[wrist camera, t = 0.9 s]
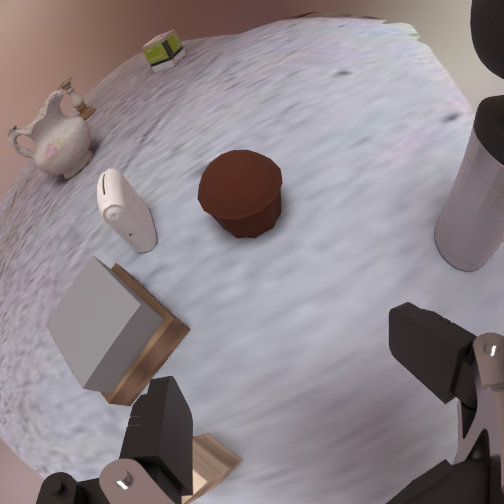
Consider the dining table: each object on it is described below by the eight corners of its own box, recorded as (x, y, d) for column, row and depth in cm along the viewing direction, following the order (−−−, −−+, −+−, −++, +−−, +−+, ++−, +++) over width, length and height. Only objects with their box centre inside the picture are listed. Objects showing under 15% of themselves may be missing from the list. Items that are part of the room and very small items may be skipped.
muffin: (204, 207, 44) (177, 162, 35) (264, 174, 44) (249, 125, 36) (234, 262, 37) (206, 218, 29) (305, 221, 38) (296, 168, 29)
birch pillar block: (209, 433, 27) (164, 441, 18) (242, 460, 24) (207, 481, 16) (185, 459, 25) (135, 472, 17) (216, 486, 23) (174, 511, 15)
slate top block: (115, 272, 36) (92, 255, 32) (165, 319, 30) (140, 304, 26) (70, 335, 33) (46, 324, 29) (111, 393, 27) (82, 388, 23)
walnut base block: (134, 277, 41) (116, 262, 37) (192, 330, 34) (173, 319, 30) (86, 342, 37) (64, 333, 33) (132, 406, 31) (108, 403, 26)
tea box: (168, 60, 100) (156, 35, 88) (187, 54, 97) (175, 28, 85) (154, 74, 93) (140, 47, 81) (174, 67, 90) (160, 38, 78)
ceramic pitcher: (55, 206, 62) (0, 150, 41) (47, 179, 71) (4, 131, 49) (110, 153, 67) (64, 87, 45) (93, 135, 75) (56, 81, 54)
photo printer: (161, 245, 42) (115, 195, 32) (139, 258, 42) (90, 213, 32) (150, 205, 48) (113, 157, 38) (131, 217, 48) (92, 172, 37)
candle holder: (77, 125, 90) (53, 91, 73) (81, 116, 95) (59, 84, 78) (93, 114, 90) (69, 79, 73) (96, 106, 95) (75, 73, 78)
